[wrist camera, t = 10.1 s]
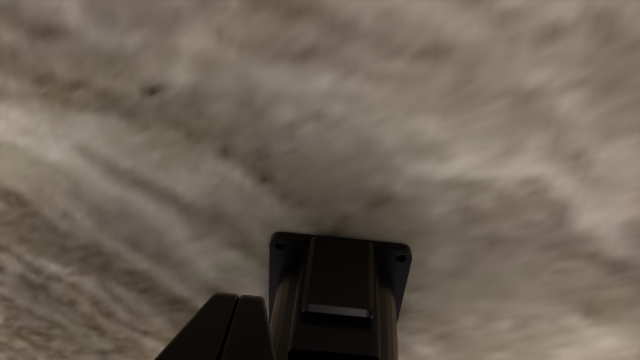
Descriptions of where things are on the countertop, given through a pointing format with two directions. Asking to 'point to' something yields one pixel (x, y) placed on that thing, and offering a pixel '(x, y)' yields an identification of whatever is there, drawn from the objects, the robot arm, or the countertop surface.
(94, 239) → the countertop surface
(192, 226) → the countertop surface
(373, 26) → the countertop surface
